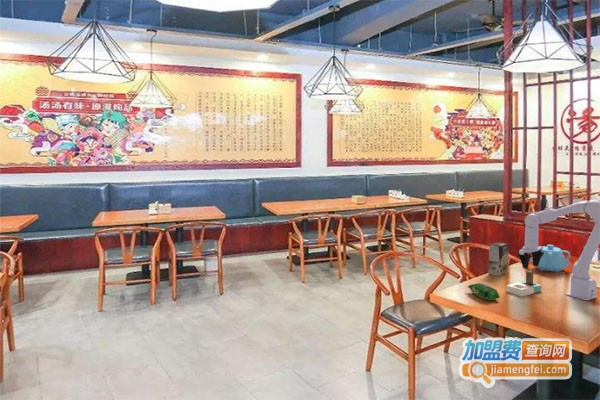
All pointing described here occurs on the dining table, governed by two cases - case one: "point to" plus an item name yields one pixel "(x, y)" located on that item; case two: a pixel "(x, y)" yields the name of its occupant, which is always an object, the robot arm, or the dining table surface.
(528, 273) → the walnut dowel
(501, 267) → the coffee box
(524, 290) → the hole block
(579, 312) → the dining table surface
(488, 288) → the snack package
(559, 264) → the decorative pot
